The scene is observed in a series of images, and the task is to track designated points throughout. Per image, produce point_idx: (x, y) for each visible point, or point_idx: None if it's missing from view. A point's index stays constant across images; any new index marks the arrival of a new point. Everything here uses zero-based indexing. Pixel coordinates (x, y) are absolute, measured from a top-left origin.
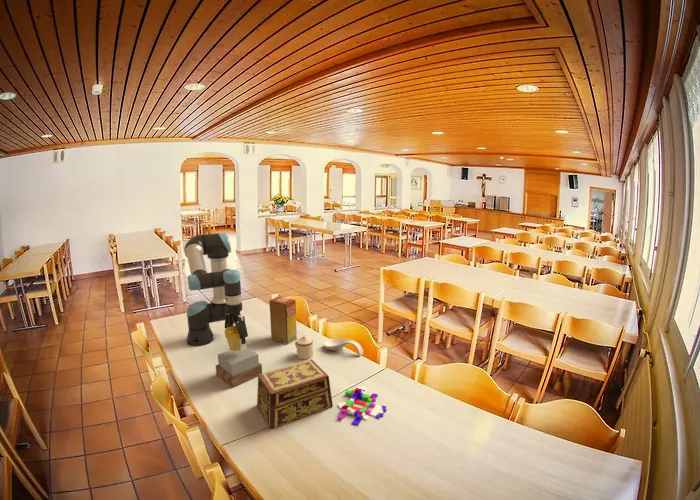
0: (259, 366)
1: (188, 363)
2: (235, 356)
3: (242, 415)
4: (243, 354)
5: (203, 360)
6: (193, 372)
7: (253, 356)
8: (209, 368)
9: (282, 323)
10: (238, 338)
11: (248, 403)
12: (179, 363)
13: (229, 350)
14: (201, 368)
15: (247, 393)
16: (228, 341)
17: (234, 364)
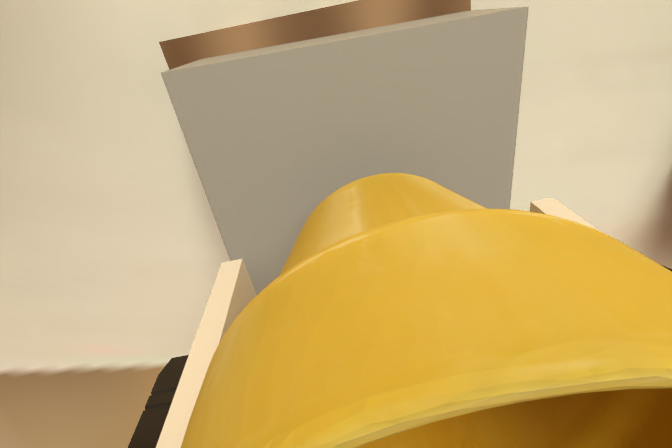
0: (466, 6)
1: (40, 326)
2: None
3: (668, 233)
4: (406, 160)
5: (25, 262)
6: (163, 321)
7: (517, 78)
8: (152, 255)
9: None
10: (647, 425)
11: (625, 186)
12: (25, 356)
13: (231, 245)
14: (133, 286)
15: (549, 161)
16: (426, 434)
17: None
